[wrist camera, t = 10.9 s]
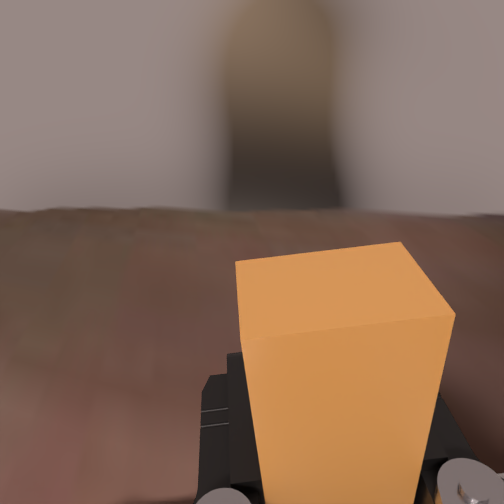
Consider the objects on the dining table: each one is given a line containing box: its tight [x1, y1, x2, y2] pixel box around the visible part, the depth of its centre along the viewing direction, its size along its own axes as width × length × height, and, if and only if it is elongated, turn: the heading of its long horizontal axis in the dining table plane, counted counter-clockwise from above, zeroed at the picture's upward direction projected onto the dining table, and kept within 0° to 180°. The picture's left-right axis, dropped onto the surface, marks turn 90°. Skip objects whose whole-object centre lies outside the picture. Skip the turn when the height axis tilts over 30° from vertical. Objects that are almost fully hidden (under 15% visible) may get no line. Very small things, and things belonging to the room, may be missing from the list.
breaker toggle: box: [235, 242, 455, 504], centre depth 10 cm, size 5×3×12 cm, turn 94°
